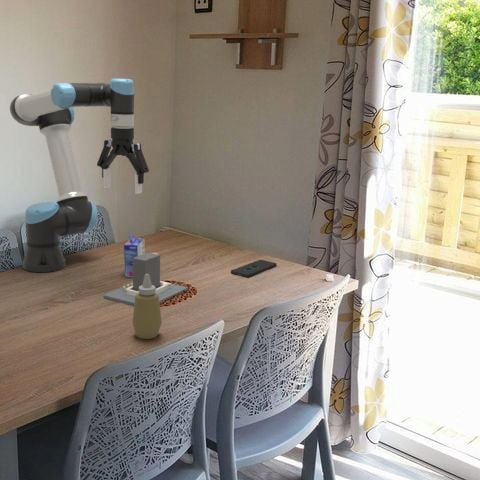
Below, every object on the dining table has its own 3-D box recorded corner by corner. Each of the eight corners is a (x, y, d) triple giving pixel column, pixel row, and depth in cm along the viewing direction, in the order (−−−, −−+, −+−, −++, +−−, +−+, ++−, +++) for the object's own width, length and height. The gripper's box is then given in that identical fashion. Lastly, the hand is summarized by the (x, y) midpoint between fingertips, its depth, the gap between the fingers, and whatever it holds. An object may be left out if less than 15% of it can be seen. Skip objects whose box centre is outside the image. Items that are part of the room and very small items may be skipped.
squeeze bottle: (133, 329, 183) (133, 270, 178) (161, 329, 184) (162, 270, 179) (131, 341, 175) (131, 279, 170) (161, 341, 176) (161, 279, 171)
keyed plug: (132, 293, 210) (132, 258, 206) (150, 285, 217) (150, 251, 214) (145, 296, 207) (145, 260, 204) (162, 288, 215) (162, 254, 212)
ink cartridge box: (131, 269, 238) (130, 231, 234) (145, 269, 237) (145, 232, 233) (123, 277, 228) (123, 238, 224) (138, 278, 228) (138, 239, 224)
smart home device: (229, 270, 236) (260, 258, 252) (229, 274, 237) (259, 263, 252) (248, 274, 232) (277, 263, 247) (247, 279, 232) (277, 267, 248)
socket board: (103, 297, 207) (103, 290, 206) (145, 280, 226) (145, 273, 225) (148, 309, 198) (148, 302, 198) (187, 290, 217) (188, 283, 216)
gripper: (85, 124, 212) (86, 187, 218) (145, 131, 201) (145, 197, 206) (101, 123, 219) (101, 184, 224) (159, 129, 207) (159, 193, 213)
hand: (122, 190), depth 215 cm, fingers open, 13 cm apart
